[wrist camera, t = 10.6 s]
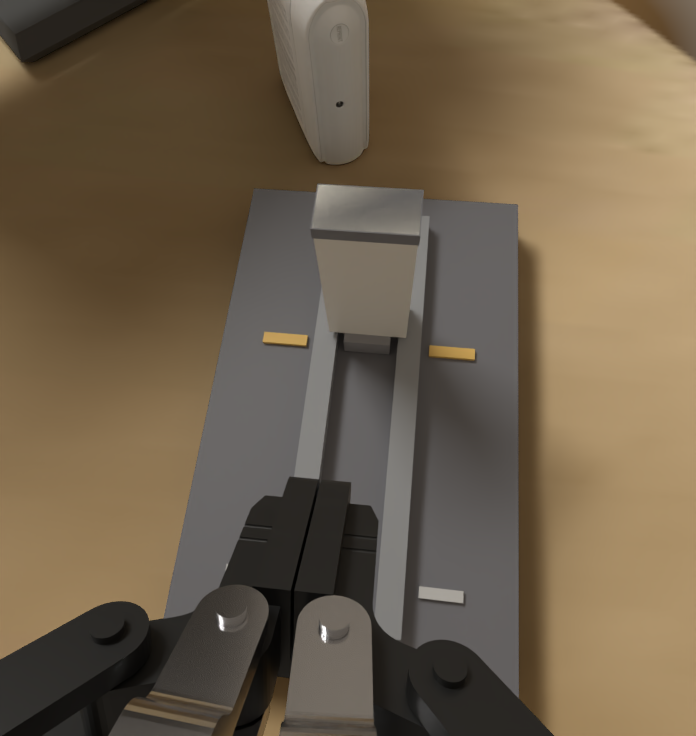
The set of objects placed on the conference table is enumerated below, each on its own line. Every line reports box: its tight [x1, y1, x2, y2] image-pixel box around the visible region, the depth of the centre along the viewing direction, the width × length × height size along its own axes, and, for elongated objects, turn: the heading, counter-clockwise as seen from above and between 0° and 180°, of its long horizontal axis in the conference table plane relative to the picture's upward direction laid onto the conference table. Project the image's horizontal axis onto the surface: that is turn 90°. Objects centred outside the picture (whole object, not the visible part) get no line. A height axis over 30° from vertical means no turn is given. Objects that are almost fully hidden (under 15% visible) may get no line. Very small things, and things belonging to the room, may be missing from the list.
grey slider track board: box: [164, 188, 519, 698], centre depth 30 cm, size 16×26×4 cm, turn 174°
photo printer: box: [267, 0, 369, 165], centre depth 34 cm, size 10×4×12 cm, turn 20°
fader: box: [310, 184, 424, 355], centre depth 26 cm, size 4×3×10 cm
